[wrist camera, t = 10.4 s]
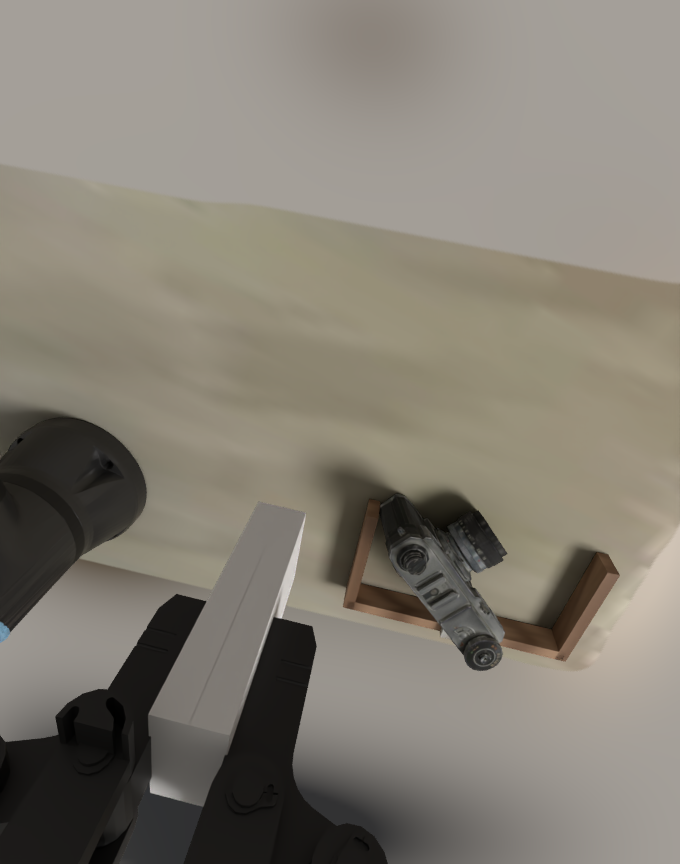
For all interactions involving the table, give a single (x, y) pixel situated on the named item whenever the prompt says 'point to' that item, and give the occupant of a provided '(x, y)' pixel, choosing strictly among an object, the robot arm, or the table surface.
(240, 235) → the table surface
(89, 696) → the robot arm
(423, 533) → the camera
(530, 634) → the dock
